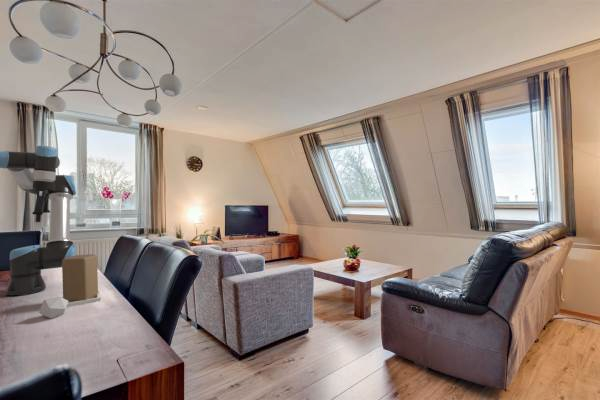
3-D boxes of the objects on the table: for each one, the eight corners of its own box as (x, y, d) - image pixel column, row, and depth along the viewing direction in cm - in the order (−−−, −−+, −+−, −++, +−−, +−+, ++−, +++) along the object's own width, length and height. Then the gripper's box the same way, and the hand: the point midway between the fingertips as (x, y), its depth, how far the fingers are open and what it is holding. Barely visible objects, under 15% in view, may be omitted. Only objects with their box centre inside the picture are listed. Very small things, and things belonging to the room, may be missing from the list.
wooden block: (76, 297, 143) (75, 254, 143) (99, 295, 143) (97, 253, 143) (62, 304, 133) (60, 258, 133) (86, 303, 133) (84, 257, 133)
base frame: (62, 300, 140) (62, 296, 140) (99, 293, 148) (99, 290, 148) (60, 308, 128) (60, 304, 128) (100, 300, 136) (100, 297, 136)
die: (71, 317, 119) (74, 293, 125) (49, 313, 112) (54, 288, 117) (53, 324, 120) (58, 300, 125) (31, 320, 113) (37, 296, 118)
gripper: (38, 180, 143) (34, 225, 143) (27, 178, 122) (23, 231, 122) (58, 182, 147) (54, 225, 147) (51, 180, 127) (47, 231, 126)
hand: (40, 228), depth 135 cm, fingers open, 13 cm apart
